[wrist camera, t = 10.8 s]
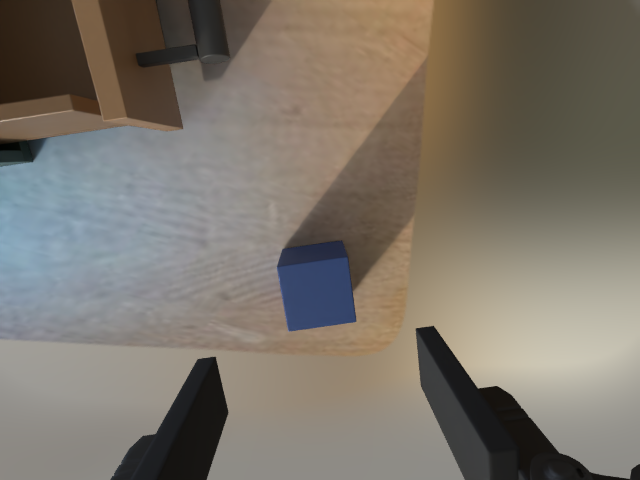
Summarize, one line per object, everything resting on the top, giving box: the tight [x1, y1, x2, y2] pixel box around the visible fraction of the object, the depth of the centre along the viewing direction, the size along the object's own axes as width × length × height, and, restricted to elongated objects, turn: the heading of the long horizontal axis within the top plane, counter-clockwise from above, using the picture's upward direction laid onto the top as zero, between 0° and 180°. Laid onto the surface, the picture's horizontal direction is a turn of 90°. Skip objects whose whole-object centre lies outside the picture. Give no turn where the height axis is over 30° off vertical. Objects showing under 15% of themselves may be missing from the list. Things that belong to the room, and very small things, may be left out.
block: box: [277, 240, 356, 331], centre depth 26 cm, size 5×5×5 cm
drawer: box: [0, 0, 230, 144], centre depth 20 cm, size 20×12×8 cm, turn 98°
